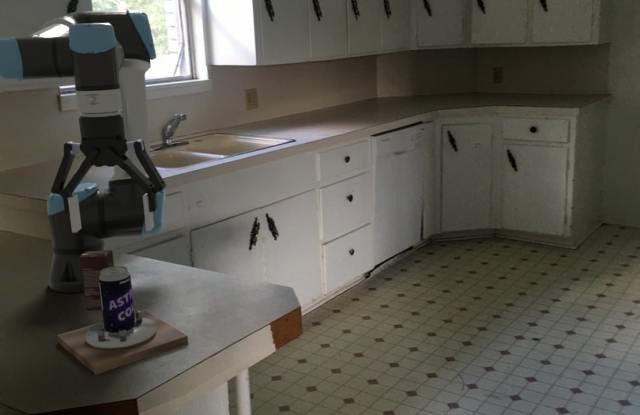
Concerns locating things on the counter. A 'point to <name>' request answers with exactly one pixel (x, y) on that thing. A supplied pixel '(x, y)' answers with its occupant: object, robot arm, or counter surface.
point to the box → (94, 275)
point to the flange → (121, 335)
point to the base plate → (110, 360)
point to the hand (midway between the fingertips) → (113, 229)
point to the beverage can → (116, 299)
